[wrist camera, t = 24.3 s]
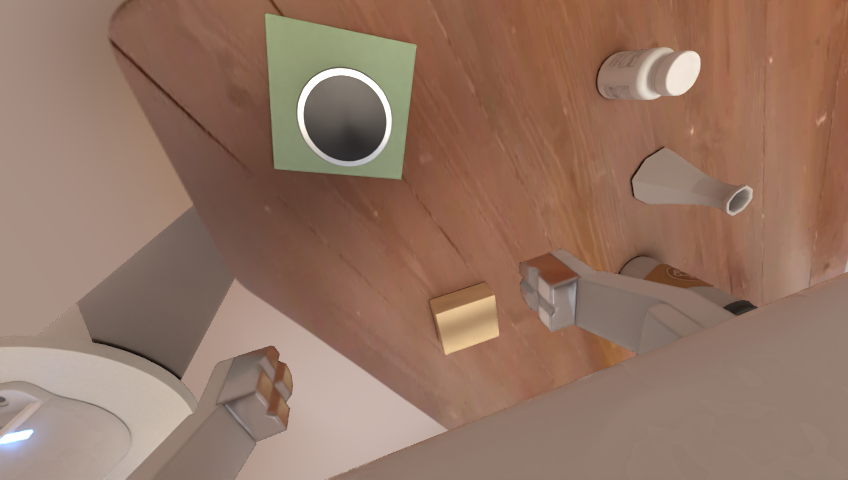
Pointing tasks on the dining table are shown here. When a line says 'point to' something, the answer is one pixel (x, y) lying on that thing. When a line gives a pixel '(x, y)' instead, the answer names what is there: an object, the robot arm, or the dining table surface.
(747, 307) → the coffee cup
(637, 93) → the pill bottle
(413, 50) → the mat
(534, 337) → the dining table surface
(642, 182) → the flask
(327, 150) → the tumbler
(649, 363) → the robot arm
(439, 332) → the plate
